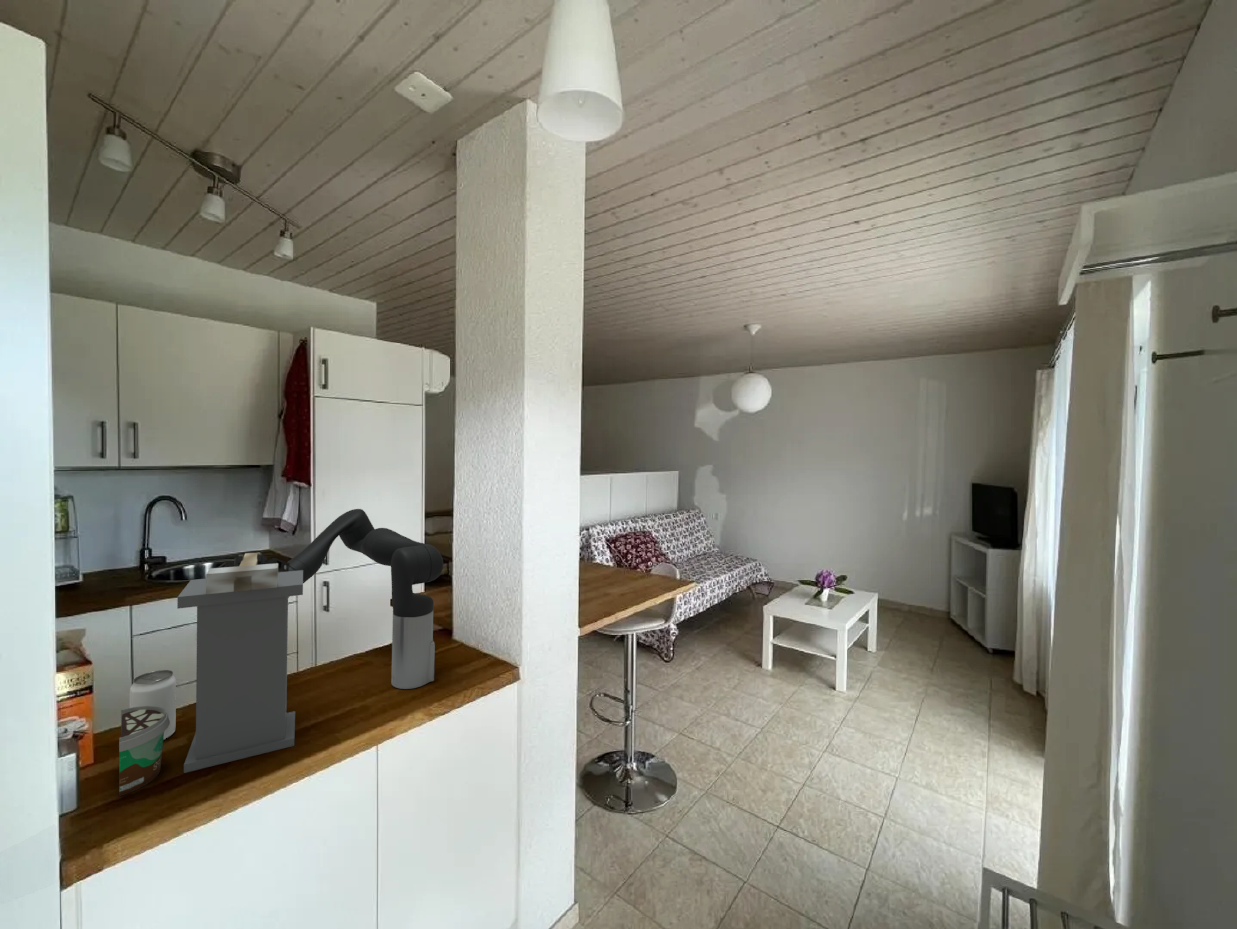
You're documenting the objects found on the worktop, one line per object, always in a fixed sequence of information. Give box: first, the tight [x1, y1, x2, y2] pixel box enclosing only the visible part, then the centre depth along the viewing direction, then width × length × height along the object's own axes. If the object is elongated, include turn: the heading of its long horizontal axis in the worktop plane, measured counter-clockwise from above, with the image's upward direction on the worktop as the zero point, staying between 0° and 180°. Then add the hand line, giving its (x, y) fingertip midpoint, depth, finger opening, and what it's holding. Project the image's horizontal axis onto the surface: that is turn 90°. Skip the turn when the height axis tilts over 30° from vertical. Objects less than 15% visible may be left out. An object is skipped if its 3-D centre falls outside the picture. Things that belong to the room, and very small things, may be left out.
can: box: [129, 669, 177, 741], centre depth 95 cm, size 6×6×12 cm
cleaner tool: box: [205, 552, 278, 594], centre depth 95 cm, size 10×20×4 cm, turn 33°
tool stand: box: [176, 570, 304, 774], centre depth 94 cm, size 18×12×31 cm, turn 123°
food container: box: [118, 706, 170, 797], centre depth 85 cm, size 12×6×10 cm, turn 44°
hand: (249, 558), depth 98 cm, fingers closed on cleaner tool, 2 cm apart
